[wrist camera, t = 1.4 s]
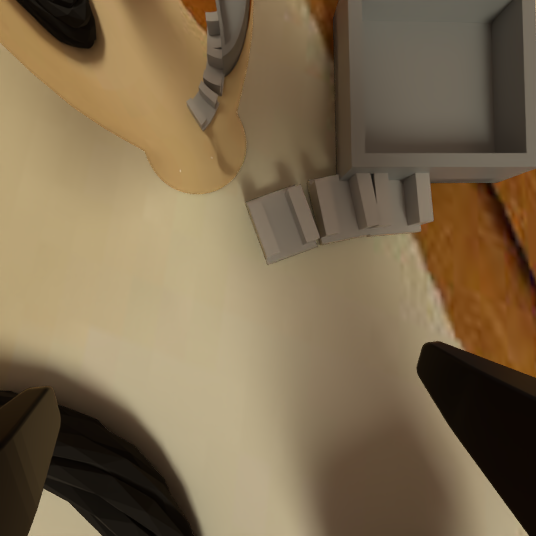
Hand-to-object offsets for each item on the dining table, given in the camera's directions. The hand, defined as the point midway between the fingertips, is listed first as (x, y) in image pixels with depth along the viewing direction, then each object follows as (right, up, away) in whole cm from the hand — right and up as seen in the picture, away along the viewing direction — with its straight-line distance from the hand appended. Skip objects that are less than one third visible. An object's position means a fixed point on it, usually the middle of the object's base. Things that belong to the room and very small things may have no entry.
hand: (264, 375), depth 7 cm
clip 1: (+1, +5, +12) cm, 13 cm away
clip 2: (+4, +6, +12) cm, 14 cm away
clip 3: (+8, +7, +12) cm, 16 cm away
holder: (+10, +13, +12) cm, 20 cm away
